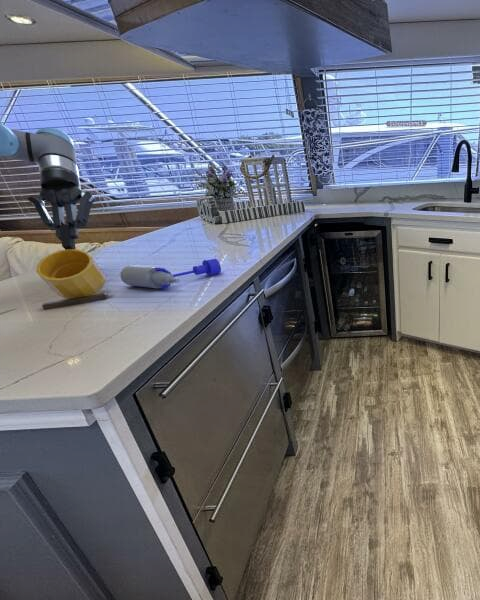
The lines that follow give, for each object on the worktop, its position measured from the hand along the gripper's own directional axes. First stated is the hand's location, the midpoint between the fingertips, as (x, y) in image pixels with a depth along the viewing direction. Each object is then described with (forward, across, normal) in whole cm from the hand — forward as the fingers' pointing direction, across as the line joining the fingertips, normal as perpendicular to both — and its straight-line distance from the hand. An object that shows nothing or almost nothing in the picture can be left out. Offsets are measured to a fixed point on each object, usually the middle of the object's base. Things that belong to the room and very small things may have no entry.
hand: (69, 248), depth 81 cm
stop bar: (+13, +2, -5) cm, 14 cm away
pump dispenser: (+11, -20, -8) cm, 24 cm away
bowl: (+7, +1, -6) cm, 10 cm away
